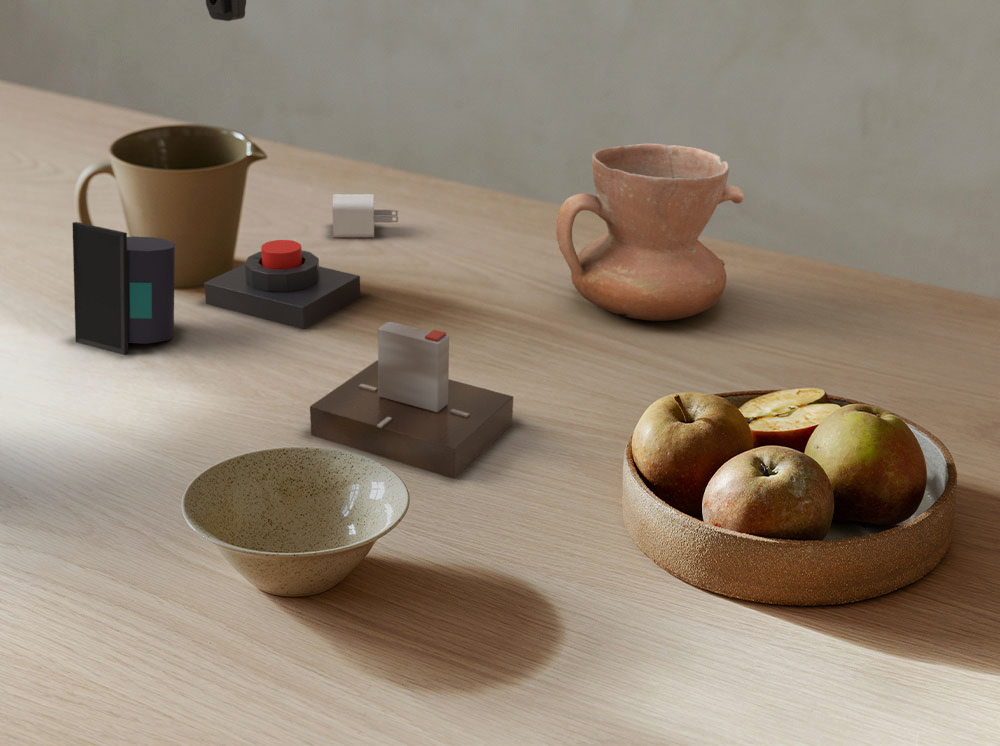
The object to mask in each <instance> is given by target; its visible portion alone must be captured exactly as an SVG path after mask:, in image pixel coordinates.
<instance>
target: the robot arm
mask: <svg viewBox="0 0 1000 746" xmlns="http://www.w3.org/2000/svg"><path fill="white" fill-rule="evenodd" d="M246 6H247V0H205V7H206V8H207V11H208V14H209V16H210V18H211V19H213V20H216V21H225V22H226V21H227V22H231V21H237V20H242V19H244V18H245V16H246Z"/></svg>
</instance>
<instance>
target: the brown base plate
mask: <svg viewBox="0 0 1000 746" xmlns="http://www.w3.org/2000/svg"><path fill="white" fill-rule="evenodd" d="M513 414H514V396H513V395H510V394H506V393H503V392H498V391H494V390H491V389H487V388H483V387H479V386H475V385H472V384H468V383H465V382H461V381H457V380H453V379H449V378H448V404H447V405H446V406H445V407H444V408H443V409H441V410H440V411H439V412H434V411H430V410H426V409H423V408H419V407H415V406H412V405H408V404H404V403H401V402H397V401H393V400H390V399H386V398H382V397H379V381H378V359H377V360H375V361H374V362H372V363H371V364H370V365H367V366H366V367H365V368H363V369H362V370H361V371H358V373H356V374H355V375H353V376H352V377H350V378H349V379H347V380H346V381H345V382H343V383H342V384H340V385H339V386H337V387H336V388H335V389H333V390H331V391H330V392H329V393H327V394H325V395H324V396H323V397H321V398H320V399H319V400H316V401H315V402H314V403H313V404H311V405H310V406H309V419H310V435H311V436H312V437H316V438H318V439H323V440H326V441H329V442H333V443H336V444H339V445H342V446H345V447H348V448H352V449H355V450H359V451H361V452H365V453H368V454H372V455H375V456H378V457H381V458H384V459H388V460H390V461H394V462H398V463H401V464H403V465H406V466H409V467H414V468H417V469H420V470H424V471H426V472H430V473H433V474H436V475H440V476H442V477H446V478H450V479H453V480H455V479H456V478H457V477H459V475H460V474H462V473H463V472H464V471H465V470H466V469H467V468H468V467H469V466H470V465H471V464H472V463H473V462H475V460H476V459H477V458H479V457H480V456H481V455H482V454H483V453H484V452H485V451H486V450H487V449H488V448H489V447H490V446H491V445H493V443H494V442H496V440H497V439H499V438H500V437H501V436H502V435H503V434H504V433H505V432H506V431H507V430H509V429H510V427H512V425H513V417H514V416H513Z"/></svg>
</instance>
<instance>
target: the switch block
mask: <svg viewBox="0 0 1000 746" xmlns="http://www.w3.org/2000/svg"><path fill="white" fill-rule="evenodd" d="M203 285H204V296H205V304H206V305H209V306H212V307H216V308H220V309H224V310H228V311H232V312H236V313H239V314H242V315H247V316H251V317H254V318H258V319H263V320H266V321H270V322H273V323H278V324H281V325H286V326H290V327H293V328H297V329H301V330H306V329H307V328H309V327H311V326H313V325H314V324H316V323H317V322H319V321H321V320H323V319H324V318H326V317H328V316H330V315H331V314H333V313H335V312H337V311H338V310H339V309H341V308H343V307H345V306H346V305H348V304H350V303H351V302H353V301H355V300H357V299H359V298H360V297H361V275H358V274H355V273H349V272H345V271H340V270H337V269H333V268H328V267H325V266H324V267H323V266H320V259H319V257H318V256H317V255H315V254H313V253H312V252H311V251H307V250H304V249H302V265H300V266H298V267H295V268H289V269H271V268H266V267H263V265H262V252H261V251H257V252H256V253H253V254H251V255H249V256H248V257H247V258H246V261H245V263H243V264H240V265H239V266H237V267H234V268H232V269H231V270H228V271H226V272H224V273H221V274H219V275H217V276H215V277H214V278H211V279H209V280H207V281H204V283H203Z"/></svg>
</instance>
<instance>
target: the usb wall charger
mask: <svg viewBox="0 0 1000 746" xmlns="http://www.w3.org/2000/svg"><path fill="white" fill-rule="evenodd" d="M374 196H375V195H374V194H373V193H372V194H368V193H367V194H363V193H362V194H360V193H359V194H357V193H356V194H355V193H351V194H350V193H343V194H342V193H333V196H332V230H333V231H332V235H333V238H334V239H335V238H339V239H341V238H342V239H343V238H350V239H351V238H355V239H356V238H361V239H363V238H365V239H366V238H369V239H370V238H371V239H373V238H375V223H376V224H377V223H378V224H379V223H380V224H382V223H383V224H384V223H385V224H386V223H387V224H388V223H398V222H399V216H398V215H399V214H398V211H399V210H398V209H375V197H374ZM393 212H394V213H395V214H393ZM393 218H395V220H393Z"/></svg>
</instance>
